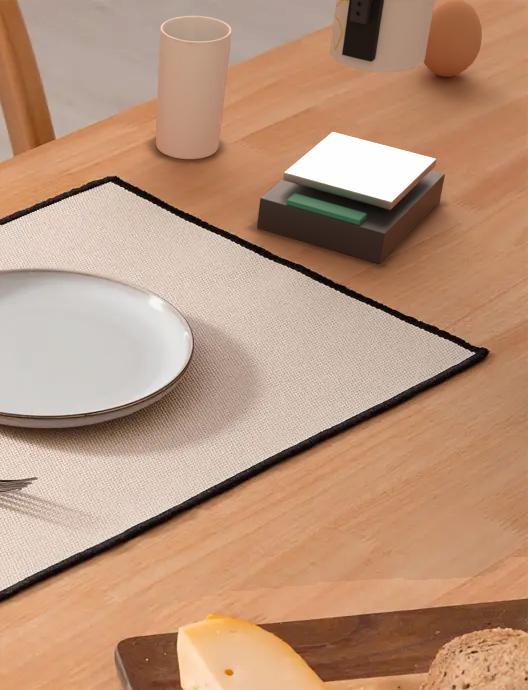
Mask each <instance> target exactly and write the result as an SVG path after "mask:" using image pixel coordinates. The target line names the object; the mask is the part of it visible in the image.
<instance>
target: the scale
mask: <svg viewBox="0 0 528 690" xmlns="http://www.w3.org/2000/svg"><path fill="white" fill-rule="evenodd" d="M445 175H446V174H445V173H444V172H439V171H436V170H433V169H432V170H431V171H430V172H429V173H428V174H427V175H426V176H425V177H424V178H423V179H422V180H421V181H420V182H419V183H418V184H417V185H416V186H415V187H413V188H412V189H411V190H410V191H409V192H408V193H407V194H406V195H405V196H404V197H403V198H402V199H401V200H400V201H399V202H398V203H397V204H396V205H395V206H394V207H393V208H392V209H391V210H388V209H385V208H381V207H378V206H374V205H371V204H367V203H363V202H360V201H356V200H353V199H349V198H345V197H342V196H338V195H335V194H331V193H328V192H324V191H320V190H317V189H313V188H310V187H306V186H302V185H299V184H295V183H292V182H288V181H285V180H283V178H282V179H281V180H280V181H279V182H277V183H276V184H275V185H274V186H273V187H272V188H270V189H269V190H268V191H267V192H266V193H264V194H263V195H262V196H261V197H260V198H259V205H258V206H259V207H258V214H257V215H258V216H257V225H256V227H257V228H256V229H260V230H263V231H267V232H270V233H274V234H277V235H280V236H284V237H286V238H291V239H294V240H297V241H301V242H303V243H308V244H311V245H313V246H318V247H321V248H324V249H328V250H331V251H334V252H338V253H341V254H345V255H347V256H351V257H355V258H358V259H361V260H365V261H368V262H372V263H375V264H377V265H381V263H383V261H384V260H385V259H386V258H387V257H388V256H390V254H392V252H393V251H394V250H395V249H396V248H397V247H398V246H399V245H400V244H401V243H402V242H403V241H404V240H405V239H406V238H407V237H408V236H409V235H410V234H411V233H412V232H413V231H414V230H415V229H416V228H417V226H418V225H420V224H421V223H422V222H423V221H424V220H425V218H426V217H428V215H429V214H430V213H432V211H434V209H436V207H438V206H439V204H440V203H441V198H442V193H443V187H444V182H445V177H446V176H445Z"/></svg>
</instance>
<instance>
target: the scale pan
mask: <svg viewBox="0 0 528 690" xmlns="http://www.w3.org/2000/svg"><path fill="white" fill-rule="evenodd" d="M436 164H437V158H435V157H432V156H431V157H430V156H427V155H423V154H419V153H415V152H412V151H407V150H404V149H400V148H396V147H392V146H388V145H385V144H381V143H377V142H373V141H369V140H365V139H362V138H358V137H354V136H350V135H346V134H343V133H339V132H334V131H331V133H330V134H328V135H327V136H326V137H324V138H323V139H322V140H321V141H320V142H318V144H316V145H315V146H314V147H313V148H311V149H310V150H309V151H308V152H307V153H305V154H304V155H303V156H301V158H299V159H298V160H297V161H296V162H294V163H293V164H292V165H291V166H289V168H287V170H285V171H284V172H283V178H282V179H283V180H285V181H288V182H292V183H295V184H299V185H302V186H306V187H310V188H313V189H317V190H320V191H324V192H328V193H331V194H335V195H338V196H342V197H345V198H349V199H353V200H356V201H360V202H363V203H367V204H371V205H374V206H378V207H381V208H385V209H388V210H391V209H392V208H393V207H394V206H395V205H396V204H397V203H398V202H399V201H400V200H401V199H402V198H403V197H404V196H405V195H406V194H407V193H408V192H409V191H410V190H411V189H412V188H413V187H415V186H416V185H417V184H418V183H419V182H420V181H421V180H422V179H423V178H424V177H425V176H426V175H427V174H428V173H429V172H430V171H431V170H432V171H433V169H434V168H435V167H436Z"/></svg>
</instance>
